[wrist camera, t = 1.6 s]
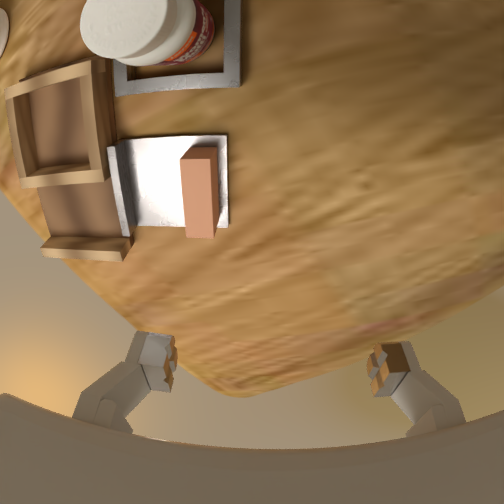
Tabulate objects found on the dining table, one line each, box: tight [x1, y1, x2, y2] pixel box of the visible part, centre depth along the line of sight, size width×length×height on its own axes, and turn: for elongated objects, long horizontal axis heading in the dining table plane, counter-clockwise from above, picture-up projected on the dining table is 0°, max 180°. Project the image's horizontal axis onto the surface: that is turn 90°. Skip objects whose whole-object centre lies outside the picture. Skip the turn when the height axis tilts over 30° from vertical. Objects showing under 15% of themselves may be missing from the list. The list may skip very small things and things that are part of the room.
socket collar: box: [113, 0, 243, 97], centre depth 19 cm, size 10×10×2 cm
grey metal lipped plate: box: [107, 134, 229, 236], centre depth 27 cm, size 10×9×3 cm
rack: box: [4, 55, 134, 262], centre depth 25 cm, size 11×20×4 cm, turn 179°
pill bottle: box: [80, 0, 215, 66], centre depth 15 cm, size 6×6×11 cm
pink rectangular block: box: [179, 147, 219, 238], centre depth 26 cm, size 2×7×4 cm, turn 179°
